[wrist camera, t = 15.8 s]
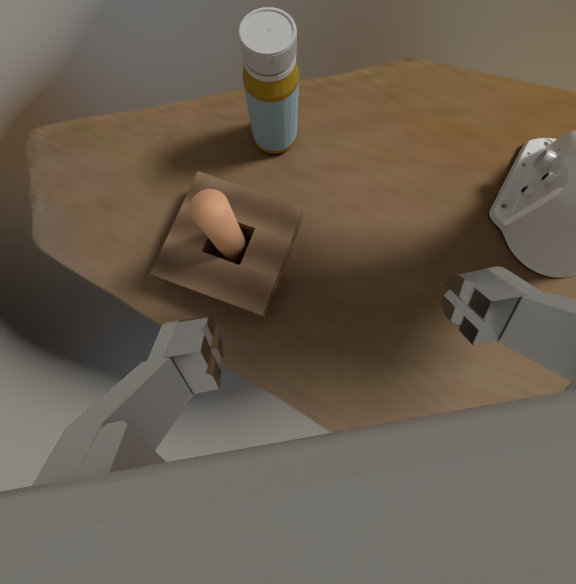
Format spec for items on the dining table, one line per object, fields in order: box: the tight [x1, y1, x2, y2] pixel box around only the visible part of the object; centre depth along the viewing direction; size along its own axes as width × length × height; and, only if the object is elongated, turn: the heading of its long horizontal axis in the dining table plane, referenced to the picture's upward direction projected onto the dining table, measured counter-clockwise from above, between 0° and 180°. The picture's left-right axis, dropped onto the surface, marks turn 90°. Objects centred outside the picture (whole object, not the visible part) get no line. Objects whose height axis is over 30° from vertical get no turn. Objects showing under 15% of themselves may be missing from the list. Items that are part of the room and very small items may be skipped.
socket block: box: [150, 171, 304, 317], centre depth 37 cm, size 16×16×4 cm
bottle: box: [239, 7, 299, 154], centre depth 35 cm, size 7×7×15 cm
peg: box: [189, 189, 248, 262], centre depth 33 cm, size 4×4×13 cm
